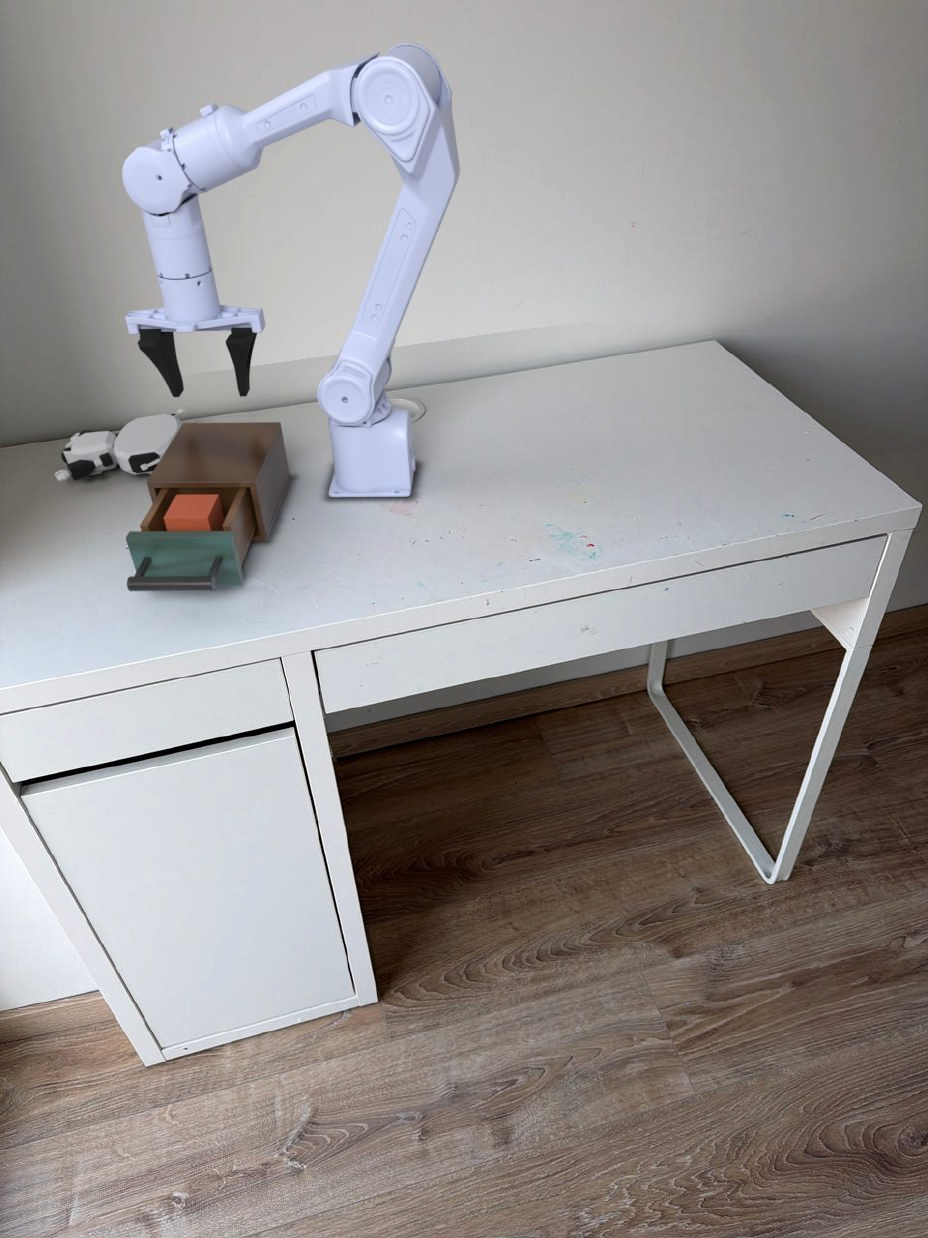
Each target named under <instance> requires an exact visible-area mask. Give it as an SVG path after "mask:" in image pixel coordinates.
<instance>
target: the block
mask: <svg viewBox="0 0 928 1238" xmlns="http://www.w3.org/2000/svg"><path fill="white" fill-rule="evenodd" d="M164 521H165V524H166V528H167V531H224V529H223V523H224V521H225V519H224V515H223V511H222V507H221V502H220V498H219V495H218V494H215V495H176V496H175V498H174V500H173V502H172V504H171V505H170V507H169V509H168V511H167V513H166V515H165V516H164Z"/></svg>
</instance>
